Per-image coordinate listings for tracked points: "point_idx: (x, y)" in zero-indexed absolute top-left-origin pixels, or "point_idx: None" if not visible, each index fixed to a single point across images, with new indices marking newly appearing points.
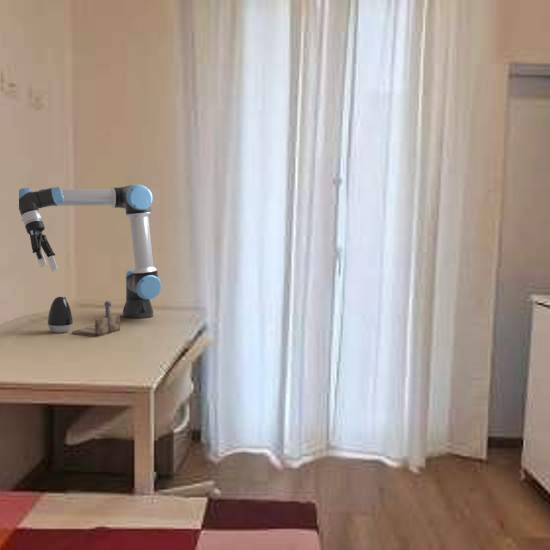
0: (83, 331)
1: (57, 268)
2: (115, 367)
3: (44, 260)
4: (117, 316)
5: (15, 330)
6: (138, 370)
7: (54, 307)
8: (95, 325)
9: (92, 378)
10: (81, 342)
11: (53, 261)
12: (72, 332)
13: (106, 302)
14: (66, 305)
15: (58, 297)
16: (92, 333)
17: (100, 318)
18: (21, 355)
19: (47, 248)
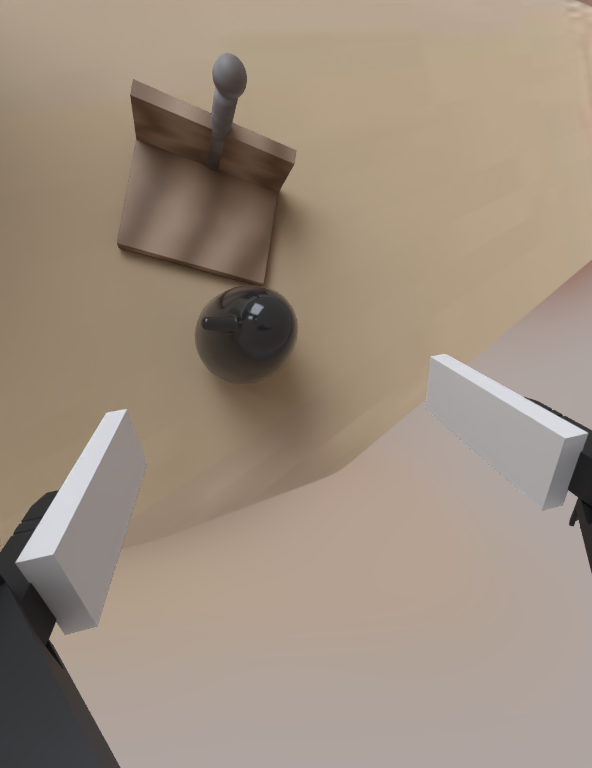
0: (256, 243)
1: (120, 413)
2: (534, 77)
3: (477, 375)
4: (156, 94)
5: (257, 498)
6: (540, 31)
7: (297, 334)
8: (287, 175)
9: (588, 106)
10: (364, 212)
11: (100, 488)
12: (262, 283)
13: (244, 73)
14: (269, 288)
15: (284, 321)
16: (275, 203)
17: (263, 149)
18: (503, 294)
19: (96, 757)
